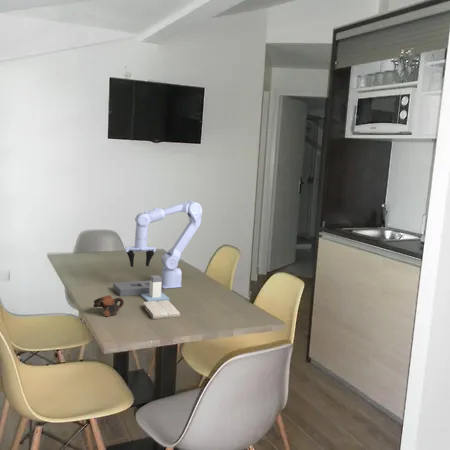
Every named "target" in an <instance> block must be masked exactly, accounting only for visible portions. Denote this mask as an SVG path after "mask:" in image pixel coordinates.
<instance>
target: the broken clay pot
mask: <svg viewBox="0 0 450 450" xmlns="http://www.w3.org/2000/svg"><path fill="white" fill-rule="evenodd" d="M93 303H94V304H93V308H102V309H103V310H104V311H103V314H104V317H105V316H107V317H111V316H115V315H118V312H119V310H120V309H121V308H122V307H123V306H124V305H125V300H124V299H123V298H122V297H116V298H113V297H112V295H111V294H109V295H105V296H102V297H99V298H97V299H94V300H93ZM118 303H119V305H118ZM106 309H107V310H106Z"/></svg>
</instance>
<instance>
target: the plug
mask: <svg viewBox="0 0 450 450" xmlns="http://www.w3.org/2000/svg"><path fill="white" fill-rule="evenodd" d="M149 280H150V292H149V295H150V296H151V297H152V298H154V297H161V284H162V276H160V275H158V274H157V275H150V276H149Z"/></svg>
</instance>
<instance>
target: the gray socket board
mask: <svg viewBox="0 0 450 450" xmlns="http://www.w3.org/2000/svg"><path fill="white" fill-rule="evenodd" d="M112 287H113V289H112V290H113V291H115V293H116V294H117V295H119V296H120V297H129V296H130V295H131V296H141V294H146V293H149V292H150V279H149V280H139V281H137V280H134V281H124V282H121V281H120V282H113V284H112ZM163 289H164V288H163V287H162V286H161V292H162V293H163Z"/></svg>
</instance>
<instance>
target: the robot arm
mask: <svg viewBox="0 0 450 450" xmlns="http://www.w3.org/2000/svg"><path fill="white" fill-rule="evenodd" d="M180 212H181V213H182V212H183V213H185V214H187V217H188V221H189V222H188V224H187V225H186V227H185V228H184V229H183V231H182V232H181V234H180V236H178V239H177V240H176V242H174V244H173V246H172V248H171V247H170V249H169V250H168V251H167V252H166V253H164V254H163V255H162V256H161V263H162V264H163V265H162V267H161V277H162V284H161V286H162V287H163V288H162V289H175V288H177V289H178V288H182V287H183V286H182V274H183V273H182V270H181V268H180V267H178V266H179V261H180V260H181V254H182V253H183V251H184V250H185V248H186V246H187V245H188V244H189V242H190V241H191V239H192V238H193V236H194V234H196V232H197V230H198V228H199V227H200V226H201V223H202V215H203V207H202V205H201V204H200V203H199V202H195V201H194V200H187V201H182V202H178V203H177V204H174V205H171V206H168V207H166V208H163V209H162V208H160V207H154V208H153V209H152V210H148V211H147V210H145V211H144V212H140V213H137V214H136V216H135V218H134V220H135V222H136V224H135V233H134V234H135V236H134V246H127V247H125V248H124V252H126V254H127V256H128V260H129V263H130V264H129V266H130V267H131V268H133V267H134V262H135V261H134V258H135V252H145V256H146V257H145V266H146V267H149V266H150V262H151V259H152V258H153V256H154V254H155V252H156V251H157V247H156V246H148V232H149V229H148V228H149V224H152V223H155V222H159V221H161V220H164V218H165V216H169V215H173V214H176V213H177V214H178V213H180Z"/></svg>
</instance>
